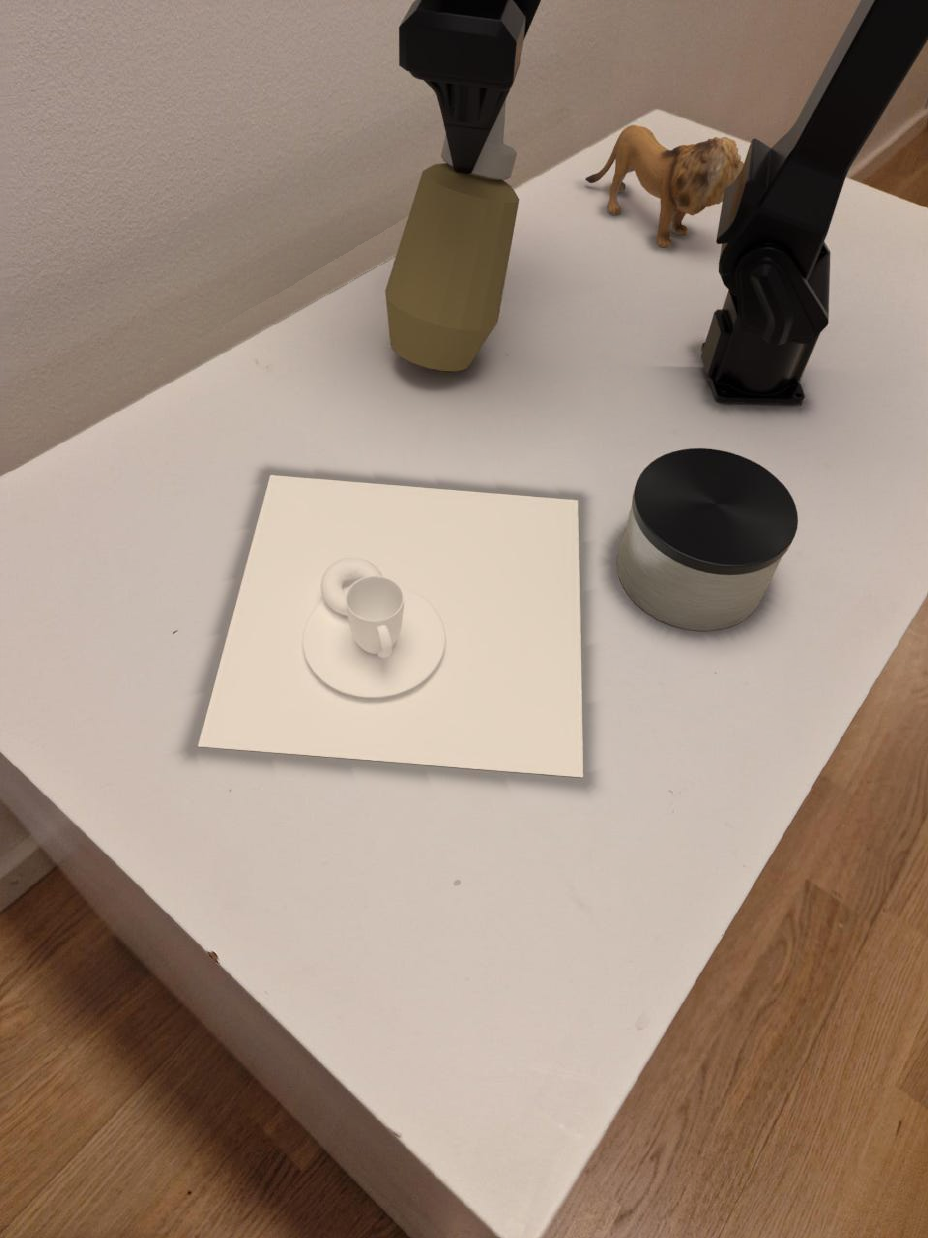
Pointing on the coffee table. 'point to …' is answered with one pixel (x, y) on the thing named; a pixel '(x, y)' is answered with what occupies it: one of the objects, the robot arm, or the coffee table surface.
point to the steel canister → (704, 538)
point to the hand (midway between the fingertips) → (475, 137)
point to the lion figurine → (672, 175)
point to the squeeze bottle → (454, 258)
